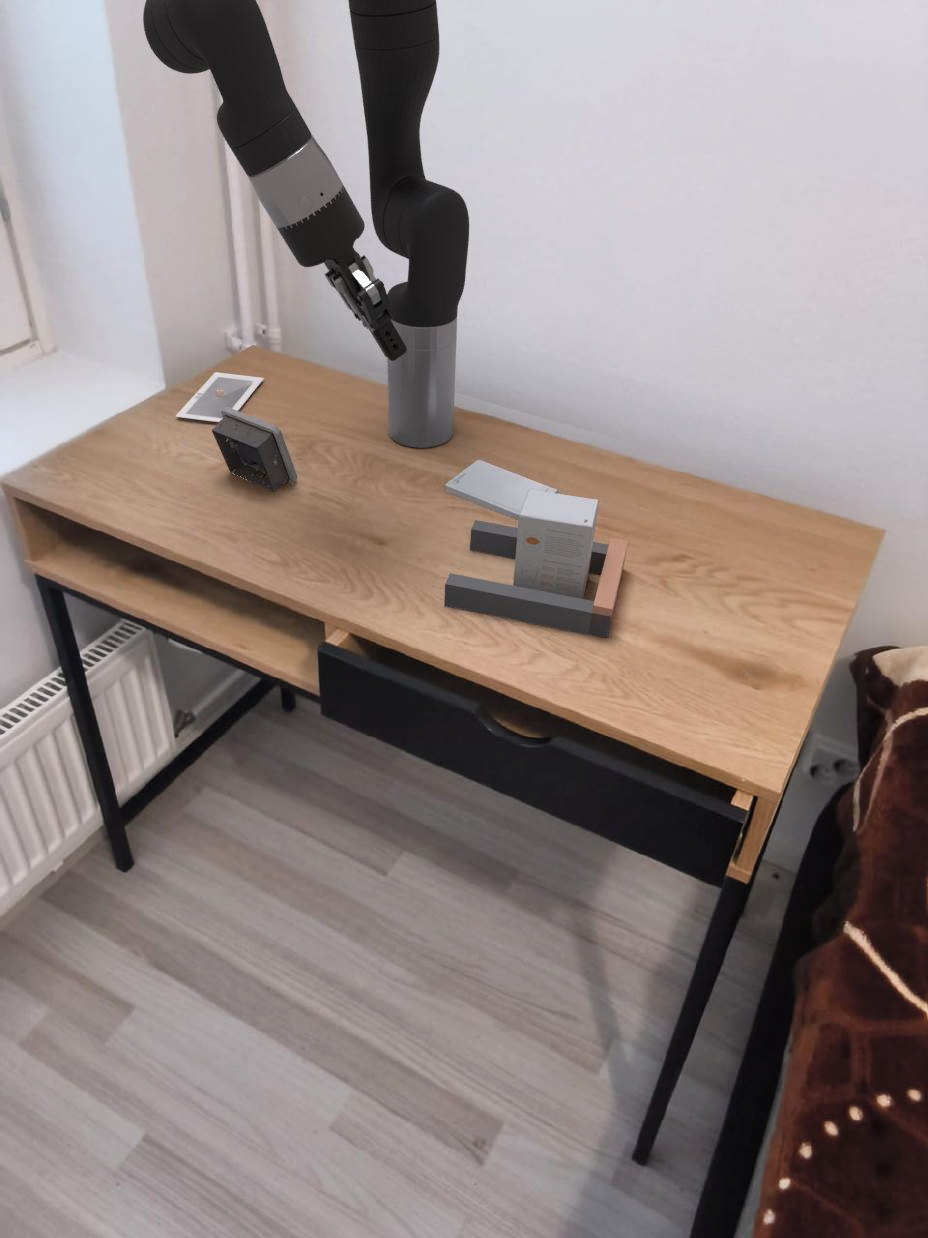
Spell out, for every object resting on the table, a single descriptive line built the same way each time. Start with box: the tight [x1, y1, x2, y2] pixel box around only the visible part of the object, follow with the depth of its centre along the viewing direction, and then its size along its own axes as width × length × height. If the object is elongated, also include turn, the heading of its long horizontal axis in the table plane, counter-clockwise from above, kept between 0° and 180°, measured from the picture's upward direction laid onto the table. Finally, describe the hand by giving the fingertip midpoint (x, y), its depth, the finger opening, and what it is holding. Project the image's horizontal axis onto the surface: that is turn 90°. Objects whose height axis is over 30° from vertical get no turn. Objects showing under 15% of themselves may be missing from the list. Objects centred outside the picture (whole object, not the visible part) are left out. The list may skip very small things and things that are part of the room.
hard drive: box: [444, 459, 560, 521], centre depth 119 cm, size 2×8×12 cm
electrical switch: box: [211, 407, 299, 493], centre depth 116 cm, size 9×5×9 cm, turn 57°
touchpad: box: [174, 371, 265, 423], centre depth 135 cm, size 8×15×2 cm, turn 170°
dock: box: [443, 519, 629, 639], centre depth 103 cm, size 13×18×4 cm
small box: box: [512, 489, 600, 599], centre depth 101 cm, size 8×6×10 cm
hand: (397, 354), depth 97 cm, fingers closed
